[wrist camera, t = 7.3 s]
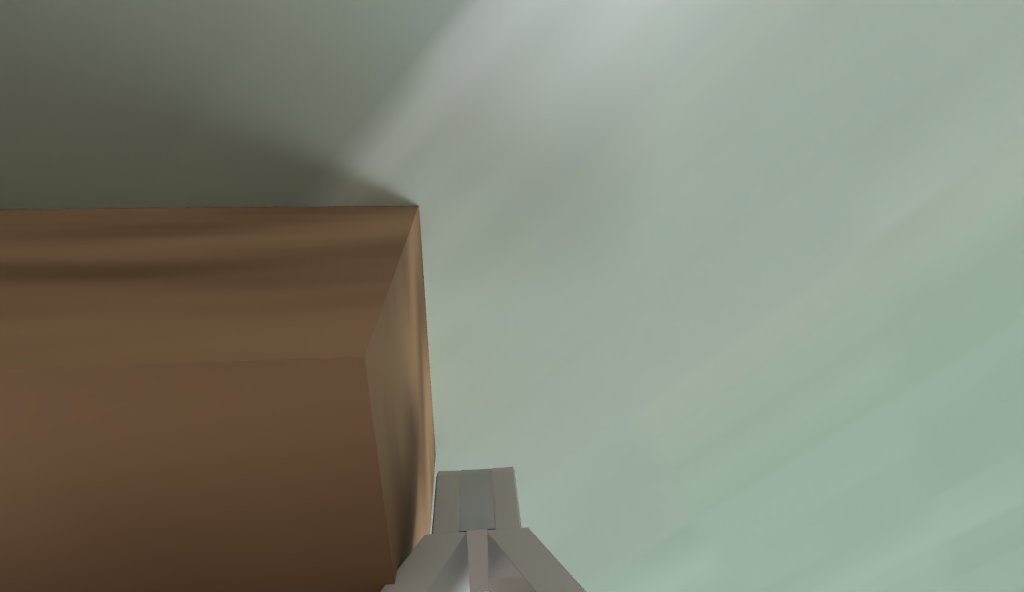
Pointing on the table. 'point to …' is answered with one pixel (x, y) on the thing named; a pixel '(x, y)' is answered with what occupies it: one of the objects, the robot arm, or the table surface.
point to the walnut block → (212, 399)
